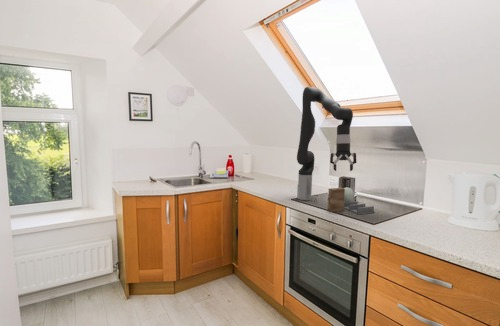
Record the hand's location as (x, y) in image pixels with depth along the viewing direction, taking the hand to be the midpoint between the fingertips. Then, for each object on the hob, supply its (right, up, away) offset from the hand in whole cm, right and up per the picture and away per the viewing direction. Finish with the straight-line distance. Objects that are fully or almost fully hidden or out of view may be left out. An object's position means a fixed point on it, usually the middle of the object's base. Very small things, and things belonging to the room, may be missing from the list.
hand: (343, 170), depth 163 cm
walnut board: (-3, -24, +6) cm, 24 cm away
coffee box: (+11, -21, +29) cm, 38 cm away
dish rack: (+9, -23, +9) cm, 27 cm away
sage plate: (+7, -23, +15) cm, 28 cm away
